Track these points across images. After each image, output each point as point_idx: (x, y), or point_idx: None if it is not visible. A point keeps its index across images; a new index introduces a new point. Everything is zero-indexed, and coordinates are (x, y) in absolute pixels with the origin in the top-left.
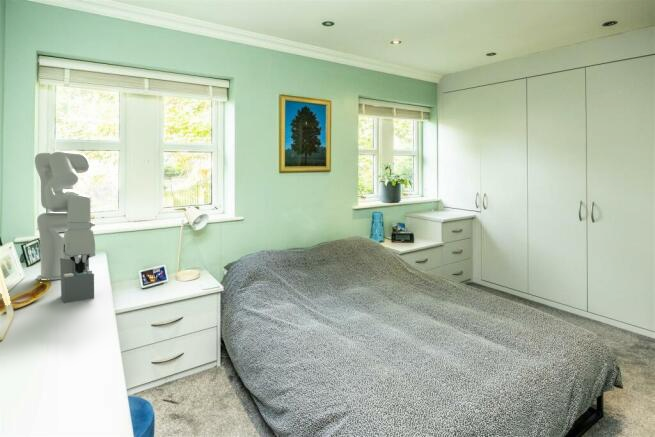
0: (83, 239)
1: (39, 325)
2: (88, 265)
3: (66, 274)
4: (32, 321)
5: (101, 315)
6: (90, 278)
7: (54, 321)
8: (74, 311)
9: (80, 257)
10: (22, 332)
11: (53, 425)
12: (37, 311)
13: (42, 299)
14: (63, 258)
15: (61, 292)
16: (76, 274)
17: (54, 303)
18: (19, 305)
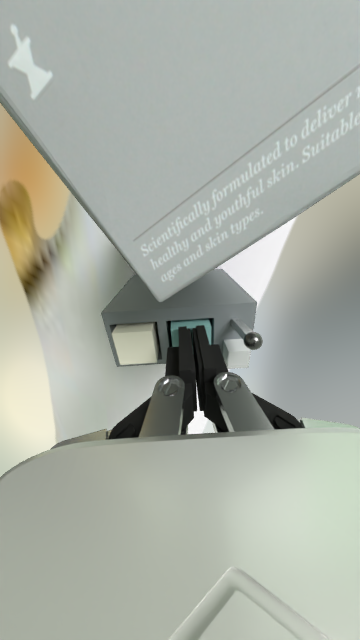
0: None
1: (94, 421)
2: (258, 343)
3: (124, 348)
4: (79, 399)
5: (191, 425)
6: None
7: (116, 416)
8: (153, 385)
9: (276, 224)
10: (73, 434)
11: None
12: (78, 345)
13: (72, 214)
14: (36, 144)
15: (126, 284)
16: (173, 346)
17: (113, 296)
18: (13, 255)
